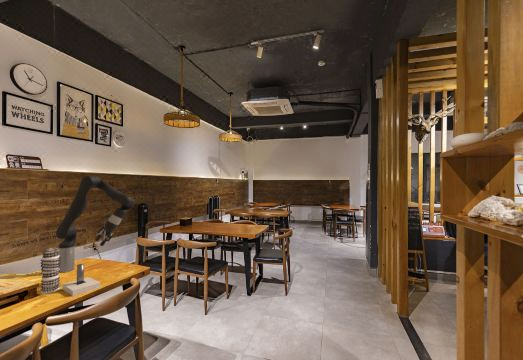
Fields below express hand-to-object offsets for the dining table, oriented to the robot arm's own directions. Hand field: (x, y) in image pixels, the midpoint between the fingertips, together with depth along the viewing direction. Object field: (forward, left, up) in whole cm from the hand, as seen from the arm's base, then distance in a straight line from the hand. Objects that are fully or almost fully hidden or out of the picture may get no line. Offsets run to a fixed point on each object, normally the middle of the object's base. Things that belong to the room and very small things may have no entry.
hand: (98, 243), depth 167 cm
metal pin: (+9, -14, -23) cm, 29 cm away
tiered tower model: (-1, -25, -23) cm, 35 cm away
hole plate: (+11, -14, -23) cm, 29 cm away
